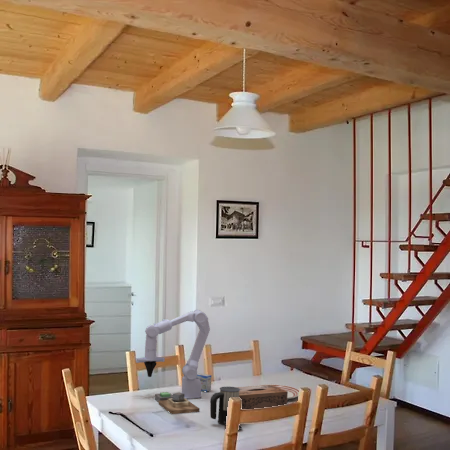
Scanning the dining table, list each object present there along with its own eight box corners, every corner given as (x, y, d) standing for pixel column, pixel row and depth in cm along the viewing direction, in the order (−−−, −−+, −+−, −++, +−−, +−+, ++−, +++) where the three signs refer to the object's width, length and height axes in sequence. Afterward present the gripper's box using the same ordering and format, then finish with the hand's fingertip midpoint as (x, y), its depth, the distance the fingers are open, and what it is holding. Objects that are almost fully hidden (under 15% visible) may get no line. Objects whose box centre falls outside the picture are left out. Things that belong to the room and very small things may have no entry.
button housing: (169, 398, 292) (170, 393, 292) (175, 402, 285) (175, 396, 285) (154, 399, 289) (155, 394, 289) (159, 403, 282) (160, 398, 282)
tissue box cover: (271, 405, 288) (272, 384, 289) (286, 412, 276) (287, 391, 276) (224, 409, 277) (225, 388, 278) (238, 417, 264) (239, 395, 265)
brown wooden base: (185, 401, 286) (185, 394, 286) (199, 411, 270) (199, 404, 270) (158, 403, 280) (158, 396, 280) (170, 414, 264) (171, 406, 264)
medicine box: (194, 390, 310) (194, 374, 311) (198, 389, 314) (199, 372, 315) (207, 392, 307) (207, 376, 307) (211, 391, 311) (211, 374, 311)
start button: (167, 396, 290) (167, 392, 290) (170, 398, 286) (170, 394, 286) (159, 397, 288) (160, 392, 288) (162, 399, 284) (162, 394, 284)
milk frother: (227, 418, 261) (228, 385, 262) (255, 426, 251) (256, 391, 252) (206, 424, 250) (207, 390, 251) (234, 433, 240) (235, 397, 241)
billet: (177, 402, 278) (178, 392, 278) (184, 404, 276) (184, 393, 276) (172, 404, 275) (172, 393, 275) (178, 406, 272) (178, 395, 273)
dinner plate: (283, 406, 287) (283, 399, 287) (238, 396, 303) (238, 389, 303) (310, 396, 309) (310, 390, 309) (267, 387, 325) (267, 381, 325)
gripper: (162, 347, 299) (160, 374, 299) (134, 348, 293) (133, 375, 293) (166, 349, 293) (165, 377, 292) (138, 350, 287) (137, 378, 286)
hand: (149, 376), depth 292 cm, fingers closed
